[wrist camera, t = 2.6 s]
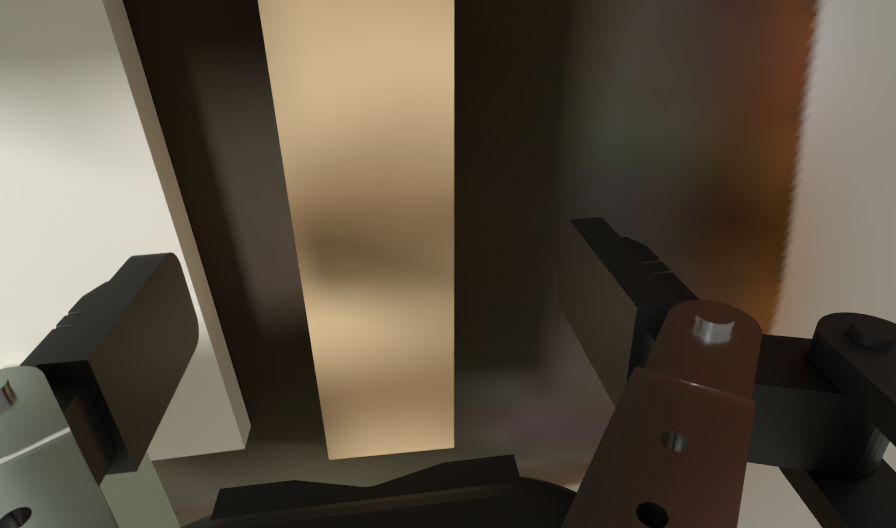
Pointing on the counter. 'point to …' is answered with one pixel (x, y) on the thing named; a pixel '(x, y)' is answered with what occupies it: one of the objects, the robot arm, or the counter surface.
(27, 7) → the bracket stand
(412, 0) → the tan rectangular bar
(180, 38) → the counter surface
